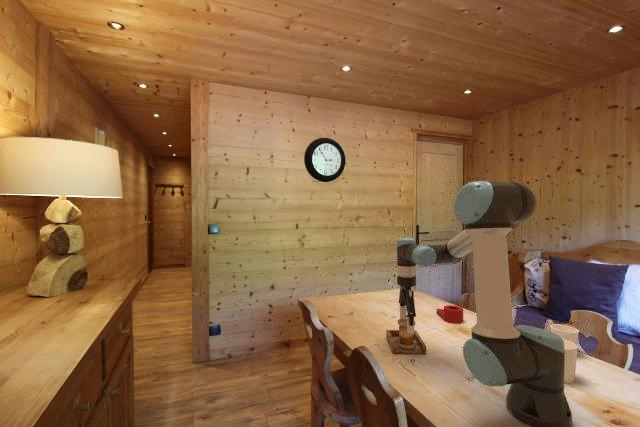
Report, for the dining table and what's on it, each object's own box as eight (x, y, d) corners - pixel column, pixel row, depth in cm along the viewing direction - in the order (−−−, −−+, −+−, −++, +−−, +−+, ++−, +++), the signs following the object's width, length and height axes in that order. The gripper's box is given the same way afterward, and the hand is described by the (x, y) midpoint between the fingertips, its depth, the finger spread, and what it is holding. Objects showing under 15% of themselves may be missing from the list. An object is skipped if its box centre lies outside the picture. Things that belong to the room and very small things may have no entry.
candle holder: (542, 367, 116) (543, 334, 115) (577, 376, 109) (577, 342, 109) (540, 378, 108) (540, 343, 108) (577, 389, 102) (577, 352, 102)
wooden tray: (426, 354, 126) (426, 346, 126) (392, 354, 126) (392, 345, 126) (415, 338, 142) (415, 330, 142) (386, 337, 142) (386, 329, 142)
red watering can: (467, 323, 161) (467, 310, 161) (451, 324, 158) (451, 311, 158) (445, 312, 178) (445, 300, 178) (430, 313, 176) (430, 301, 176)
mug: (566, 360, 121) (567, 333, 121) (544, 350, 130) (544, 325, 129) (588, 357, 124) (588, 330, 124) (565, 347, 132) (565, 322, 132)
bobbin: (417, 349, 128) (417, 324, 128) (399, 349, 128) (399, 324, 128) (412, 342, 135) (412, 318, 135) (396, 341, 135) (396, 318, 135)
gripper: (424, 281, 119) (424, 338, 119) (408, 270, 144) (409, 317, 144) (403, 281, 119) (404, 338, 119) (391, 270, 144) (392, 317, 144)
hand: (406, 327), depth 131 cm, fingers open, 13 cm apart
